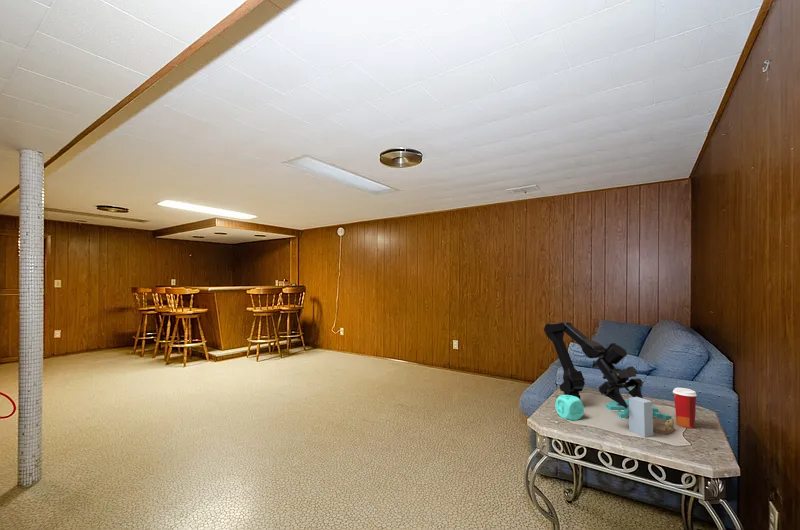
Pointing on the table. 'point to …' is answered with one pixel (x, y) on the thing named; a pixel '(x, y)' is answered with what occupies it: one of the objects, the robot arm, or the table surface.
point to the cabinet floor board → (663, 427)
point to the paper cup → (685, 407)
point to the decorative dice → (569, 407)
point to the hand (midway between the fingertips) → (635, 406)
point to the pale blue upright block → (641, 416)
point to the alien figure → (616, 406)
